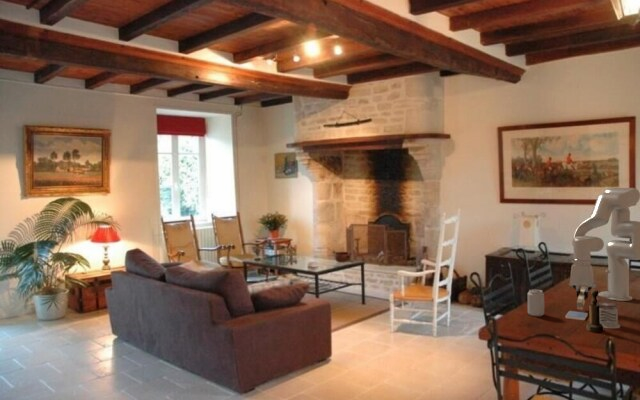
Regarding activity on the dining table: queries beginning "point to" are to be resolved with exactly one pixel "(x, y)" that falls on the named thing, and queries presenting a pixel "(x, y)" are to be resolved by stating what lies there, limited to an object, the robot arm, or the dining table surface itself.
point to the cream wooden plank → (581, 299)
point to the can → (535, 302)
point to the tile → (576, 315)
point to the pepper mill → (594, 314)
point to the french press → (608, 310)
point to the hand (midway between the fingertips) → (582, 298)
